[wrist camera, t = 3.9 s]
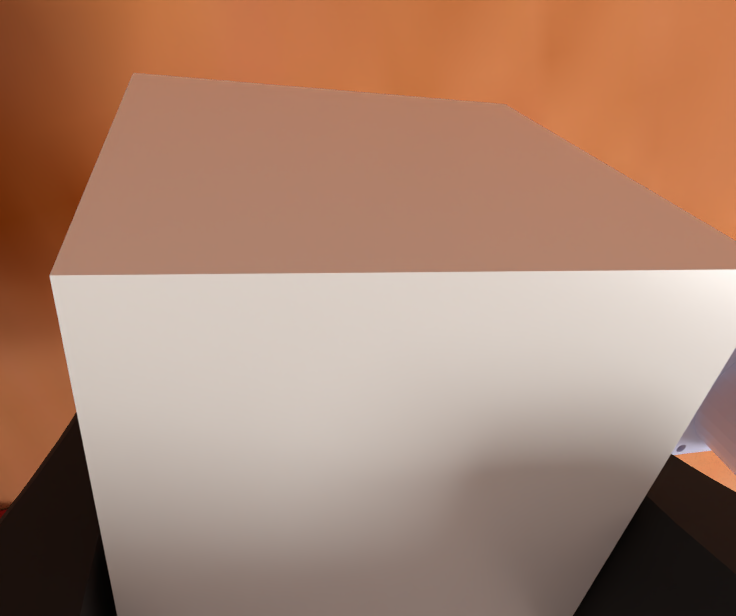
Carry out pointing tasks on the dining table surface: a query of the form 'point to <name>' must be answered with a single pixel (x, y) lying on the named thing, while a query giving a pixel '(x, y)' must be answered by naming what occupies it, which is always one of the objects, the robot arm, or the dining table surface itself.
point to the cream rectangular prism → (373, 352)
